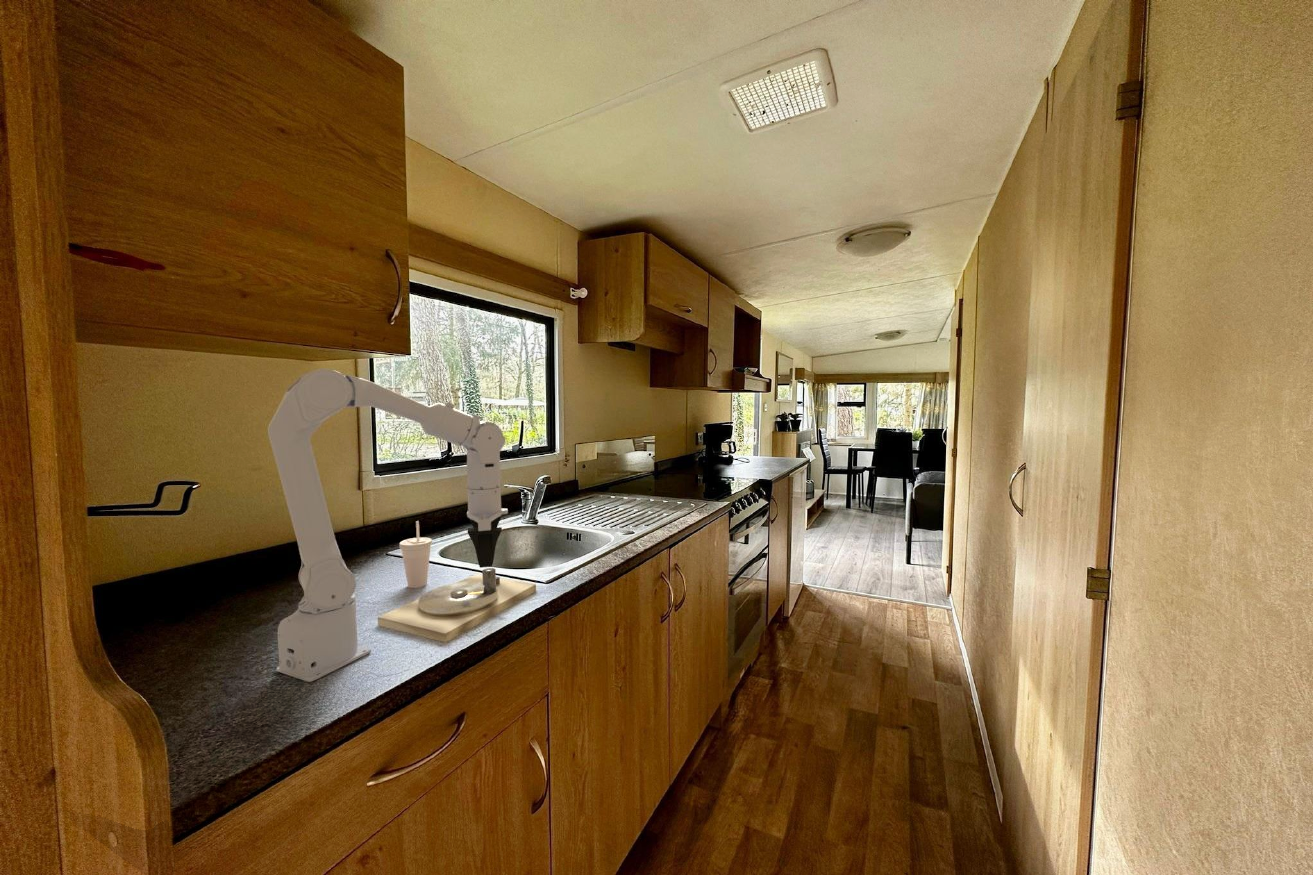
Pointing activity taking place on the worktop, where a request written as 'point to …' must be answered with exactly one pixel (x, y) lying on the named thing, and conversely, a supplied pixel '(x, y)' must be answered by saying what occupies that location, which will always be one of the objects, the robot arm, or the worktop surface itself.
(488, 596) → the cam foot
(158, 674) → the worktop surface
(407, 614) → the stand plate
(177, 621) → the worktop surface
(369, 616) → the worktop surface
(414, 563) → the smoothie
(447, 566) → the worktop surface
